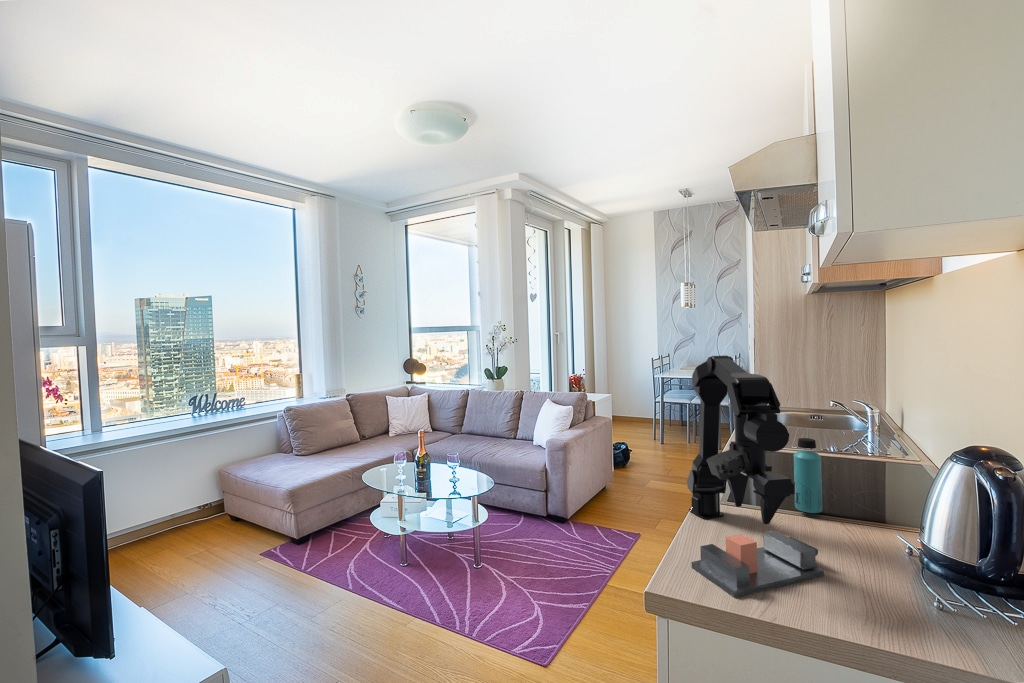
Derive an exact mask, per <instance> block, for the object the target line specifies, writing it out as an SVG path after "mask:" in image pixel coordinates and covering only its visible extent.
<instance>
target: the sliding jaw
mask: <svg viewBox="0 0 1024 683" xmlns="http://www.w3.org/2000/svg"><path fill="white" fill-rule="evenodd" d="M762 534H763V541H762V542H763V547H764V549H766V550H768V551H770V552H771V553H773V554H775V555H777V556H779V557H781V558H783V559H785V560H787V561H789V562H790V563H792V564H794V565H796V566H798V567H800V568H802V569H804V570H805V569H810V568H814V567H816V566H817V564H816V562H817V560H816V557H817V555H818V554H819V550H818V548H817V547H815V546H812V545H810V544H807V543H806V542H804V541H802V540H799V539H797V538H795V537H793V536H787V535H784V534H783V533H781V532H779V531H777V530H775V529H773V530H769V531H765V532H763V533H762Z"/></svg>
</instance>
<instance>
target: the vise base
mask: <svg viewBox="0 0 1024 683" xmlns="http://www.w3.org/2000/svg"><path fill="white" fill-rule="evenodd" d="M690 563H691V568H692V569H693V570H694V571H695V572H697V573H699V574H700V575H702V576H703V577H705V579H707V580H709V582H711V583H713V584H714V585H716V586H717V587H719V589H721V590H723V591H724V592H726V593H727V594H729V595H730V596H731V595H732V596H731V597H732V598H734V599H735V597H736V598H739V596H740V597H743V596H748V595H752V594H755V593H761V592H763V591H768V590H773V589H777V588H781V587H783V586H788V585H792V584H796V583H797V584H798V583H802V582H805V581H809V580H813V579H818V578H822V577H824V576H825V570H824V569H823V568H821V567H819V566H817V565H816V567H814V568H810V569H805V570H804V569H802V568H800V567H798V566H796V565H794V564H792V563H790V562H789V561H787V560H785V559H783V558H781V557H779V556H777V555H775V554H773V553H771V552H770V551H768V550H766V549H764V546H762V547H757V572H755V573H751V574H749V565H747V564H746V563H744V562H742V561H740V560H739V559H737V558H735V557H734V556H732V555H730V554H729V553H727V552H726V550H723V549H722V548H721V547H718V546H717V545H716V544H713V543H710V544H705V545H704V544H703V545H700V560H695V561H691V562H690Z"/></svg>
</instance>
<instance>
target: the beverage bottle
mask: <svg viewBox="0 0 1024 683" xmlns="http://www.w3.org/2000/svg"><path fill="white" fill-rule="evenodd" d="M797 440H798V441H797V447H798V448H802V449H799V450H797V451H796V452H795V453H793V472H792V473H793V478H794V480H793V481H794V482H795V494H794V503H793V505H794V507H795V509H796V510H798V511H801V512H804V513H810V514H819V513H821V512H823V508H824V507H823V501H824V498H823V480H822V478H823V477H822V456H821V455H820V454H819V453H818V452H816V451H814V450H815V449H817V444H816V443H817V442H816V440H815V439H813V438H808V437H799V438H798V439H797ZM807 449H809V450H807ZM812 449H813V450H812Z"/></svg>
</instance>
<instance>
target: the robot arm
mask: <svg viewBox="0 0 1024 683" xmlns="http://www.w3.org/2000/svg"><path fill="white" fill-rule="evenodd" d="M691 382H692V386H693V390H694V392H695V394H696V395H697V397H698V399H699V401H700V406H699V408H700V409H699V410H700V411H699V413H700V414H699V415H700V416H699V441H698V442H699V447H698V448H699V450H698V451H699V452H698V454H697V455H696V457H695V458H694V459H693V461H692V464H691V466H692V467H691V470H689V474H688V476H687V478H686V479H687V480H686V483H687V489H688V490H689V492H690V493H691V494H692V495H691V508H692V507H693V508H692V510H691V508H689V509H688V511H689V512H690V510H691V512H690V513H692V514H694V515H696V516H698V517H700V518H702V519H704V520H708V519H709V520H710V519H713V518H719V517H724V516H725V513H724V512H721V500H720V499H721V497H720V496H721V495H720V494H726V490H727V484H728V486H729V487H728V488H729V490H730V493H731V496H732V500H733V503H734V505H735V507H736V508H739V507H742V504H743V502H744V498H745V493H746V490H747V485H748V481H749V479H751V480H752V482H753V483H752V485H753V488H754V490H752V491H753V492H752V493H754V494H755V495H756V497H758V500H759V505H760V514H761V522H762V524H763V525H770V523H771V522H772V520H773V518H774V517H775V514H776V513H777V511H778V510H779V508H780V506H781V505H782V504H783V503H784V501H785V499H786V498H788V497H791V495H795V482H794V480H792V478H791V477H788V476H787V475H783V474H781V473H779V472H778V473H777V472H776V473H775V472H774V473H769V472H772V471H773V470H772V467H773V466H772V465H770V464H768V462H767V460H768V457H767V456H768V454H767V452H772V453H773V452H774V453H775V452H779V451H781V450H783V449H784V448H786V446H787V445H788V443H789V441H790V433H789V431H788V429H787V427H786V426H785V425H784V424H783V422H780V421H778V414H781V409H780V407H781V402H780V400H779V398H778V395H777V393H776V391H775V388H774V387H773V384H772V382H770V380H769V379H768V378H767V377H766V376H763V375H760V374H756V373H749V372H747V371H746V370H745V369H744V368H742V367H741V365H738V363H736V362H735V361H734V360H733V357H731V356H729V355H711V356H708V357H707V359H706V361H704V362H702V363H701V364H699V365H697V366H696V367H695V368H694V371H693V372H692V376H691ZM726 397H728V399H729V401H730V404H731V405H732V408H733V409H732V412H733V413H734V441H730V443H729V445H728V446H729V447H728V448H729V449H728V450H726V451H725V450H724V451H721V452H719V448H720V447H719V445H720V444H719V443H720V442H719V440H720V416H721V415H720V414H721V412H720V411H721V410H720V409H721V403H722V402H723V400H724V399H725V398H726ZM767 472H768V473H767Z"/></svg>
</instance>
